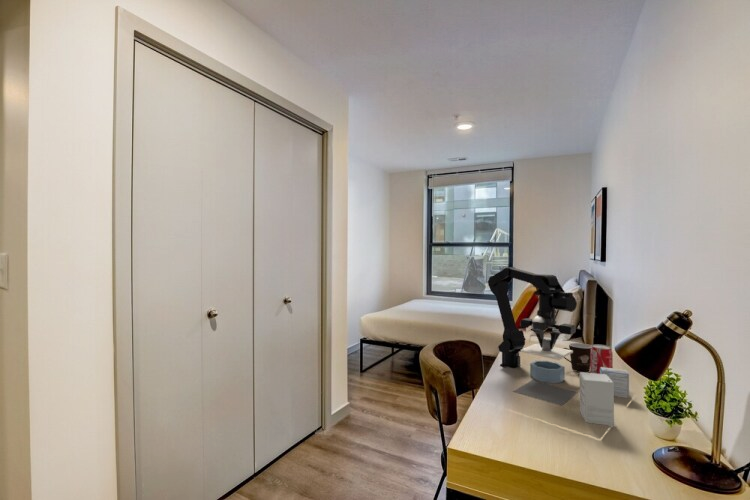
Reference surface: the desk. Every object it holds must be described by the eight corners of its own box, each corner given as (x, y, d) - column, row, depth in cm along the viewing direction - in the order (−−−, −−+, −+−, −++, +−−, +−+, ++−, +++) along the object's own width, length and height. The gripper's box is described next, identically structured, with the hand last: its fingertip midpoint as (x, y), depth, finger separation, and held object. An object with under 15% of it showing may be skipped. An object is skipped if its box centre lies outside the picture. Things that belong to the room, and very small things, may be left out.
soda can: (606, 377, 141) (606, 344, 141) (616, 384, 134) (616, 349, 134) (586, 377, 142) (586, 343, 142) (596, 383, 134) (596, 348, 135)
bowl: (526, 379, 139) (526, 364, 140) (538, 372, 147) (538, 359, 147) (557, 386, 132) (557, 371, 132) (567, 379, 139) (567, 365, 139)
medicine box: (626, 394, 124) (626, 369, 124) (629, 399, 120) (629, 373, 120) (599, 391, 127) (599, 366, 127) (601, 395, 123) (601, 370, 123)
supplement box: (607, 416, 108) (607, 373, 108) (614, 427, 101) (614, 382, 101) (579, 412, 110) (579, 371, 110) (584, 423, 103) (584, 379, 103)
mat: (512, 393, 126) (512, 391, 126) (531, 381, 137) (531, 380, 137) (561, 407, 114) (561, 405, 114) (578, 393, 125) (578, 391, 125)
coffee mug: (593, 368, 152) (593, 344, 152) (592, 374, 144) (592, 349, 144) (562, 364, 158) (561, 341, 158) (559, 369, 151) (559, 345, 151)
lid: (520, 351, 139) (520, 339, 139) (536, 345, 149) (536, 333, 149) (558, 360, 129) (559, 346, 129) (572, 352, 139) (573, 340, 139)
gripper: (513, 307, 140) (513, 347, 140) (565, 313, 127) (564, 358, 127) (526, 304, 148) (526, 342, 148) (576, 309, 134) (576, 351, 134)
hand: (546, 348), depth 139 cm, fingers closed on lid, 3 cm apart
